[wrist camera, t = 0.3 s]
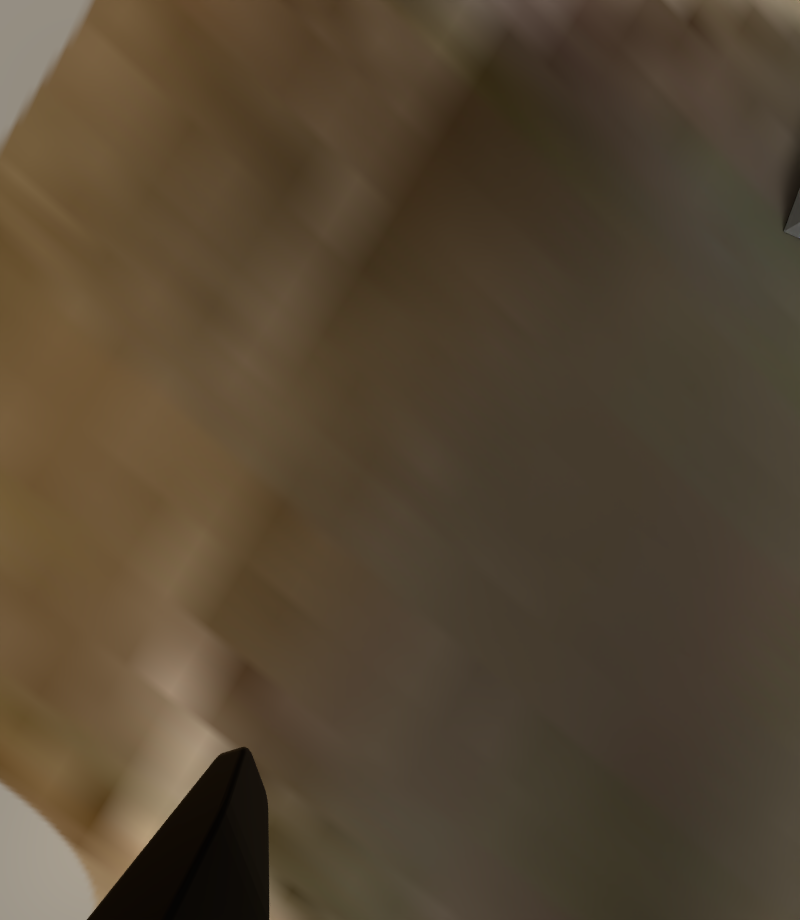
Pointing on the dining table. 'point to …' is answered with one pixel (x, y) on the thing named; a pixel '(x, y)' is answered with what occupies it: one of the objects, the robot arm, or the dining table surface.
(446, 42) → the dining table surface
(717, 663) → the dining table surface
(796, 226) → the mug coaster tray
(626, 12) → the dining table surface
